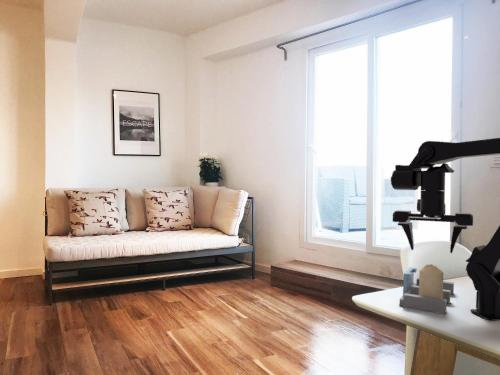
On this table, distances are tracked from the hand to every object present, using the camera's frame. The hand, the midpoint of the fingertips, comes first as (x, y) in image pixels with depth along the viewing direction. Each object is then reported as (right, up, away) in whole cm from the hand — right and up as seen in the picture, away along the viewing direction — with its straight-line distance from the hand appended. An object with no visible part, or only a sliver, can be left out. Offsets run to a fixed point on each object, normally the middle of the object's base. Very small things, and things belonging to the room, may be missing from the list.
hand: (431, 251), depth 110 cm
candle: (-1, -13, -3) cm, 14 cm away
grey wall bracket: (0, -13, +2) cm, 13 cm away
